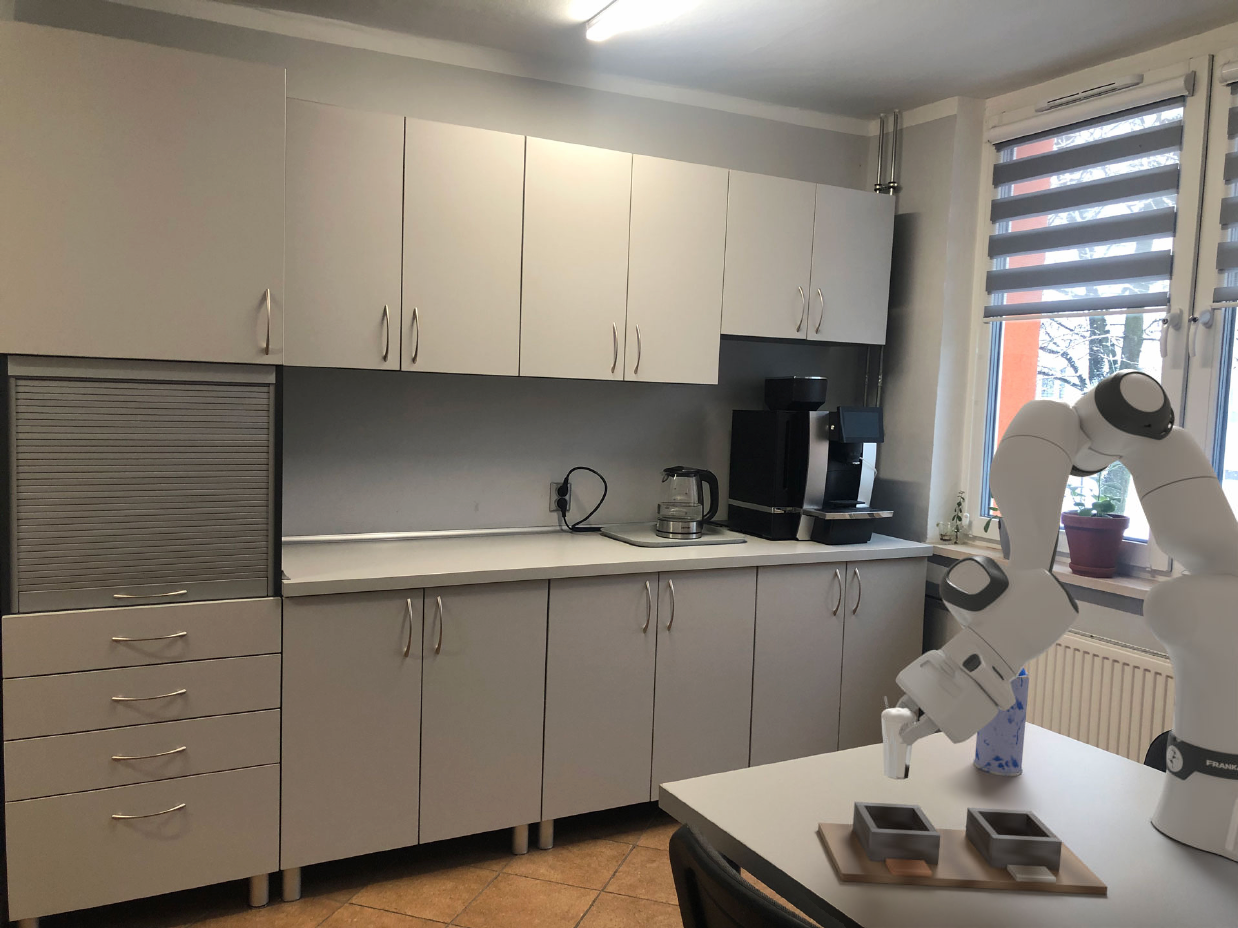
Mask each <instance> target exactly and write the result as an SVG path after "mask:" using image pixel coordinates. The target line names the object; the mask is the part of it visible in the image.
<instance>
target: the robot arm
mask: <svg viewBox="0 0 1238 928" xmlns="http://www.w3.org/2000/svg"><path fill="white" fill-rule="evenodd" d="M1175 420H1176V419H1175V412H1174V409H1173V407H1172V405H1171V401H1170V398H1169V396H1168V394H1167V392H1166V391H1165V389H1164V388H1163V386H1162V385H1161V383H1160V382H1159V381H1158V380H1157V379H1155V378H1154V377H1152V376H1151V375H1150V374H1147V373H1146V372H1143V371H1141V370H1138V369H1133V368H1126V369H1122V370H1121V369H1120V370H1119V371H1116V372H1113V373H1111V374H1110V375H1107V376H1106V377H1104V378H1102V379H1101V380H1100V381H1099V382H1098V383H1097V385H1096V386H1094V387H1093V388H1092V389H1090V390H1088V391H1087V392H1086V393H1085V394H1083V396H1081V397H1080V398H1079V399H1078V400H1076V401H1075V403H1074V404H1073V405H1070V404H1069V403H1068V402H1065V401H1063V400H1062V399H1060V398H1059V399H1058V398H1055V397H1049V396H1047V397H1045V396H1044V397H1037V398H1034V399H1031V400H1029V401H1028V402H1026V403H1024V405H1022V407H1020V409H1019V410H1018V411H1017V412H1016V414H1015V416H1013V418H1012V420H1011V421H1010V422H1009V424H1008V426H1007V428H1006V430H1005V432H1004V433H1003V435H1002V437H1001V440H1000V441H999V444H998V446H997V449H996V451H995V453H994V455H993V458H992V459H991V464H990V471H989V477H988V480H989V481H988V482H989V483H988V484H989V485H988V486H989V489H990V494H991V495H992V498H993V500H994V502H995V505H996V506H997V509H998V511H999V514H1000V516H1001V518H1002V520H1003V523H1004V526H1005V529H1006V532H1007V536H1008V540H1009V549H1010V551H1009V558H1008V563H1007V565H1006V564H1005V563H1001V562H998V561H995V560H994V559H993V558H992V557H990V556H986V555H980V554H979V555H969V556H965V557H963V558H960V559H959V560H957V561H956V562H954V563H953V564H951V566H949V567H948V568H947V569H946V570H945V572H944V574H943V575H942V577H941V579H940V583H939V590H938V592H939V595H940V597H941V598H942V601H943V603H944V606H945V607H946V608H947V609H948V610H949V612H950V613H951V614H952V616H953V617H954V618H955V620H956V621H957V623H958V624H959V625H960V626H961V628H962V629H961V630H960V631H959V632H958V633H957V634H955V636H954V637H952V638H951V639H950V640H949V641H948V642H947V643H945V644H944V645H943V646H942V647H941V648H939V649H938V650H936V649H933V650H929V651H927V652H925V653H923V654H922V655H921V656H920V657H917V659H915V660H913V661H912V662H911V663H910V664H908V665H907V666H906V667H905V668H903V669H902V670H901V671H900V672H899V673H898V675H897V676H896V678H895V682H896V683H897V685H898V686H899V687H900V688H901V690H903V692H904V693H905V694H904V695H903V696H901V697H900V699H899V700H898V702H897V704H896V706H895V707H894V708H901V709H904V708H907V709H909V710H910V711H911V712H913V713H914V712H916V711H918V709H919V708H920V709H921V711H923V713H924V714H923V715H921V716H920V717H919V721H916V723H915V724H913V725H911V726H910V727H908V726H906V727H904V728H903V729H902V730H901V731H899V733H898V734H899V736H900V738H901V739H902V740H903V741H904V742H905V744H906V745H908V746H911V745H912V746H913V744H915V743H916V742H917V741H918V740H920V739H923V738H925V737H928V736H931V735H933V734H934V733H936V732H937V731H938V730H940V731H941V732H942V733H943V734H944V735H945V736H946V737H947V738H948V739H949V740H950V742H952V744H954V745H957V744H960V743H965V742H966V741H967V740H969V739H970V738H972V737H974V735H977V732H978V731H980V730H981V729H982V728H983V727H985V726H986V725H987V724H988V723H989V722H990V721H992V720H993V719H994V718H995V716H996V715H997V713H998V710H999V709H998V708H1000V709H1001V710H1003V711H1006V710H1007V709H1009V708H1010V707H1011V706H1013V705H1014V703H1015V701H1016V700H1015V697H1014V694H1013V691H1012V686H1011V683H1010V682H1011V681H1012V680H1013V679H1014V678H1016V677H1017V676H1018V675H1019V673H1020V672H1021V670H1022V669H1023V668H1025V666H1026V665H1027V664H1028V663H1030V662H1031V661H1033V660H1035V659H1038V658H1040V657H1041V656H1042V655H1044V654H1045V653H1046V652H1047V651H1048V650H1050V649H1051V648H1052V647H1053V646H1055V644H1056V643H1058V642H1059V641H1060V640H1061V638H1063V636H1065V635H1066V634H1067V633H1068V632H1069V630H1070V629H1071V628H1072V627H1073V625H1074V624H1075V623H1076V621H1077V619H1078V617H1079V614H1080V610H1079V609H1080V608H1079V605H1078V603H1077V601H1076V600H1075V598H1074V597H1073V595H1072V594H1071V592H1070V591H1069V590H1068V589H1067V588H1066V586H1065V584H1064V583H1063V582H1062V581H1061V579H1059V577H1058V576H1056V575H1055V573H1053V569H1054V566H1055V561H1056V556H1057V551H1058V547H1059V538H1060V530H1061V529H1060V528H1061V521H1062V520H1061V518H1062V508H1063V503H1064V500H1065V499H1064V497H1065V494H1066V489H1067V484H1068V482H1069V481H1068V480H1069V477H1070V476H1072V477H1076V478H1077V477H1078V478H1086V477H1087V478H1088V477H1091V476H1094V475H1097V474H1099V473H1101V472H1103V471H1105V470H1106V469H1108V467H1109V466H1110V465H1112V464H1114V463H1116V462H1117V461H1118V462H1119V463H1120V464H1122V466H1123V467H1125V469H1126V470H1127V471H1128V472H1129V473H1130V475H1131V477H1132V481H1133V485H1134V488H1135V491H1136V494H1137V497H1138V500H1139V503H1140V505H1141V508H1142V511H1143V514H1144V516H1145V519H1146V522H1147V523H1148V526H1149V529H1150V531H1151V533H1152V536H1153V538H1154V541H1155V544H1156V545H1157V548H1158V549H1159V550H1160V551H1161V552H1162V553H1163V554H1165V556H1167V557H1169V558H1170V559H1171V560H1174V561H1176V562H1177V563H1178V564H1179V565H1181V567H1183V569H1185V570H1186V572H1187V573H1188V574H1184V575H1180V576H1176V577H1173V578H1169V579H1166V580H1163V581H1159V582H1157V583H1155V584H1154V585H1153V586H1151V587H1150V588H1149V590H1148V591H1147V593H1146V595H1145V597H1144V600H1143V606H1142V616H1143V619H1144V622H1145V625H1146V627H1147V629H1148V631H1149V633H1150V634H1151V635H1152V636H1153V637H1154V638H1155V640H1157V641H1158V642H1159V643H1160V644H1161V645H1162V647H1163V648H1164V650H1165V651H1166V653H1167V655H1168V656H1167V657H1168V659H1169V661H1170V664H1171V667H1172V672H1173V677H1174V678H1173V679H1174V702H1173V703H1174V704H1173V717H1172V718H1173V719H1172V727H1171V728H1172V729H1171V730H1170V729H1169V731H1168V736H1167V743H1166V754H1165V761H1166V762H1165V764H1166V772H1165V777H1164V780H1163V784H1162V785H1163V786H1162V789H1161V793H1160V795H1159V797H1158V801H1157V804H1156V806H1155V808H1154V811H1153V812H1152V815H1151V816H1150V821H1151V822H1152V824H1153V826H1154V827H1155V828H1156V829H1158V830H1159V831H1160V832H1161V833H1164V835H1166V836H1169V837H1170V838H1172V839H1174V840H1176V841H1178V842H1180V843H1182V844H1184V845H1185V844H1186V845H1188V846H1190V847H1194V848H1196V849H1200V850H1203V851H1207V852H1210V853H1214V854H1217V855H1221V856H1223V857H1225V858H1228V859H1230V860H1233V861H1235V862H1237V863H1238V520H1237V518H1236V516H1235V514H1234V511H1233V509H1232V507H1231V505H1230V503H1229V501H1228V499H1227V496H1226V494H1225V491H1224V489H1223V488H1222V486H1221V485H1222V484H1221V483H1220V481H1219V479H1218V478H1219V477H1218V476H1217V474H1216V472H1215V470H1214V467H1213V466H1212V464H1211V462H1210V461H1209V459H1208V457H1207V455H1206V453H1205V452H1204V450H1203V449H1202V448H1201V446H1200V445H1199V443H1198V441H1197V440H1196V439H1195V438H1194V436H1193V435H1192V434H1191V433H1190V431H1188V430H1187V429H1185V428H1183V427H1181V426H1178V425H1175Z"/></svg>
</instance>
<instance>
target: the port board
mask: <svg viewBox="0 0 1238 928" xmlns="http://www.w3.org/2000/svg"><path fill="white" fill-rule="evenodd" d="M966 810H967V811H966V822H965V829H952V828H951V829H949V828H948V829H947V828H945V829H944V828H936V827H935V826H934V825H933V822H931V821H930V819H929V818H928V816H927V815H926V813H924V811H923V810H922V808H921V807H920V805H919V804H909V803H908V804H906V803H887V802H884V803H883V802H865V801H864V802H863V801H854V805H853V820H852V821H853V822H852V823H851V824H849V823H835V822H834V823H830V822H818V827H817V829H818V832H819V834H820V837H821V838H822V841H823V843H824V845H825V848H826V850H827V851H828V855H829V856H830V858H831V860H832V863H833V865H834V867H835V869H836V871H837V873H838V876H839V878H840V880H841V882H852V883H853V882H855V883H873V884H879V883H880V884H895V885H897V884H898V885H912V886H913V885H917V886H933V887H934V886H935V887H954V888H955V887H956V888H973V889H974V888H975V889H991V890H993V889H995V890H1014V891H1029V892H1031V891H1032V892H1033V891H1034V892H1051V893H1053V892H1054V893H1073V894H1093V895H1095V894H1096V895H1108V886H1107V884H1106V883H1104V882H1103V881H1102V880H1101V878H1099V877H1098V876H1097V875H1096V874H1095V873H1094V871H1092V869H1090V868H1089V867H1088V866H1087V865H1086V864H1085V863H1084V862H1083V861H1082V860H1081V859H1080V858H1079V856H1077V855H1076V854H1075V853H1074V851H1072V850H1071V848H1069V847H1068V846H1067V845H1066V844H1065V843H1064V842H1063V841H1062V840H1061V838H1059V837H1058V836H1057V835H1056V833H1054V832H1053V831H1052V829H1050V828H1049V827H1048V826H1047V825H1046V824H1045V823H1044V822H1043V821H1042V820H1041V819H1040V818H1039V817H1038V816H1037V815H1036V814H1035V812H1033V811H1032V810H1024V809H1023V810H1022V809H1004V808H1002V809H1001V808H984V807H983V808H982V807H981V808H980V807H967V809H966Z"/></svg>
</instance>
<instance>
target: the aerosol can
mask: <svg viewBox="0 0 1238 928" xmlns="http://www.w3.org/2000/svg"><path fill="white" fill-rule="evenodd" d="M1010 683H1011V686H1012V691H1013V694H1014V697H1015V700H1016V701H1015V703H1014V705H1013V706H1011V707H1010V708H1009V709H1007V710H1006V711H1003V710H1001V709H1000V708H998V709H999V710H998V713H997V715H996V716H995V718H994V719H993V720H992V721H990V722H989V723H988V724H987V725H986V726H985V727H983V728H982V729H981V730H980V731H978V732H977V733H976V740H975V741H976V742H975V754H974V759H973V765H974V766H975V767H976V768H977V769H979V770H981V771H983V772H985V773H989V774H992V775H995V776H1001V777H1018V776H1020V775H1022V773H1023V767H1022V765H1023V755H1024V742H1025V741H1024V740H1025V732H1026V731H1025V730H1026V718H1027V706H1028V695H1029V685H1030V678H1029V673H1028V672H1027V671H1026V669H1025V667H1023V669H1022V670H1021V672H1020V673H1019V675H1018V676H1017V677H1016V678H1014V679H1013V680H1012V681H1011V682H1010Z"/></svg>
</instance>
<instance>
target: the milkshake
mask: <svg viewBox="0 0 1238 928" xmlns="http://www.w3.org/2000/svg"><path fill="white" fill-rule="evenodd" d="M883 700H884V704H885V708H886V709H884V710H883V711H882V712H881V734H882V747H883V749H882V751H883V756H882V757H883V776H886V777H887V778H889V779H894V780H906V779H908V778H909V774H910V766H911V759H912V758H911V757H912V749H913V744H912V745H911V746H908V745H906V744H905V742H904V741H903V740H902V739H901V738H900V736H899V734H898V733H899V731H901V730H902V729H903V728H904V727H906V726H908V727H910V726H911V725H913V724H915V723H917V719H918V718H917V716H916V715H915V713H914V712H912V711H910V710H909V709H907V708H904V709H901V708H895V707H891V708H890V705H889V701H888V697H887V696H886V695H884V696H883Z"/></svg>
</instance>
